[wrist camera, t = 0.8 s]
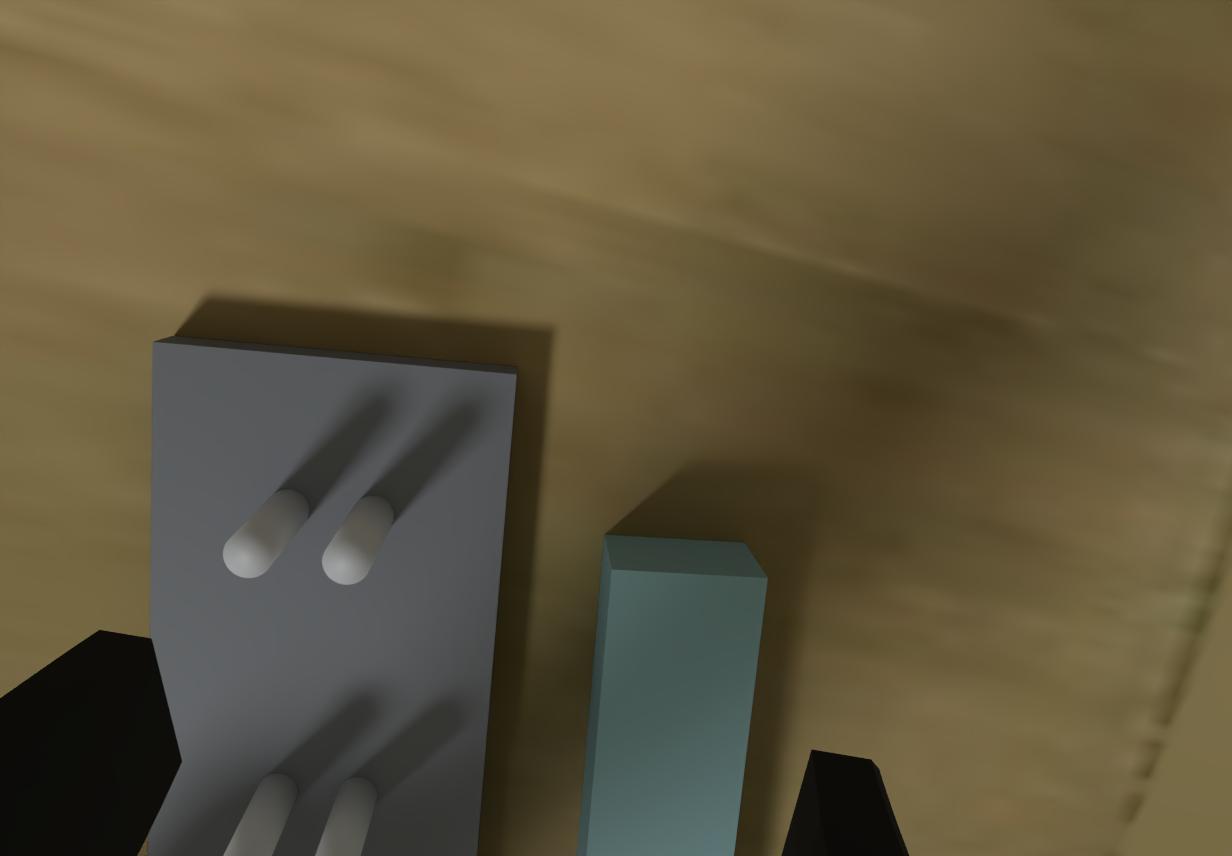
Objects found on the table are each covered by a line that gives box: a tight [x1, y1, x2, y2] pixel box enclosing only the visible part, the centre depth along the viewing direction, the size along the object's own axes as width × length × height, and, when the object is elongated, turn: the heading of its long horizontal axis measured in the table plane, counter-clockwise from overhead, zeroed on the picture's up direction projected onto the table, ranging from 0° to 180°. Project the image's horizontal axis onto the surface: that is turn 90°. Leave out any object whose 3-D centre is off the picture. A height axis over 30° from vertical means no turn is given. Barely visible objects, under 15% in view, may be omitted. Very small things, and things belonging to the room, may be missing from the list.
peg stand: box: [148, 336, 518, 856], centre depth 28 cm, size 18×10×6 cm, turn 174°
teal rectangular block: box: [577, 535, 768, 856], centre depth 31 cm, size 14×4×4 cm, turn 175°
